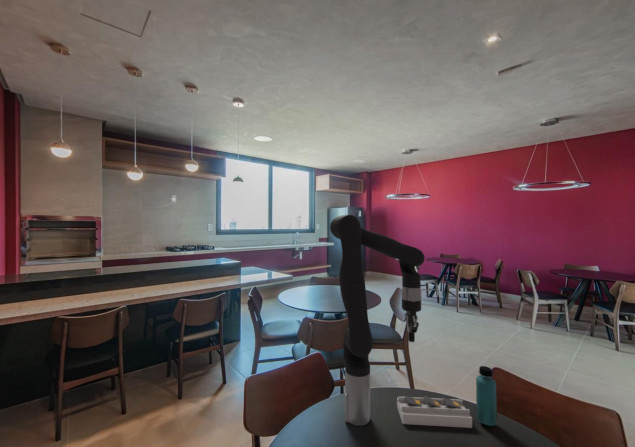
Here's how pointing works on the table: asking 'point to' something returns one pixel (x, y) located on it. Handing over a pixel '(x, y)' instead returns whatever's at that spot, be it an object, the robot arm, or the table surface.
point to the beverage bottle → (486, 397)
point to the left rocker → (413, 401)
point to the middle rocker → (432, 402)
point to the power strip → (434, 414)
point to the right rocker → (451, 403)
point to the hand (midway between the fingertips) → (411, 341)
